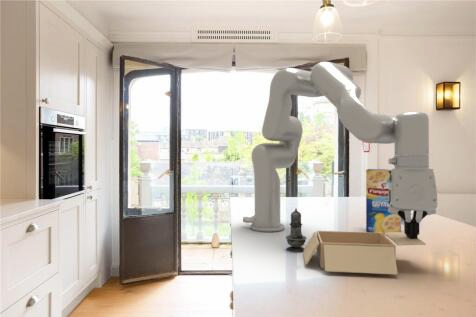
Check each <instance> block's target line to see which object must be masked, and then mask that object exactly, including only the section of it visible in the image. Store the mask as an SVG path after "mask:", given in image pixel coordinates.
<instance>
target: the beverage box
mask: <svg viewBox="0 0 476 317" xmlns="http://www.w3.org/2000/svg"><path fill="white" fill-rule="evenodd" d="M392 169H393V168H392ZM392 169H389V168H387V169H386V168H385V169H383V168H382V169H381V168H376V169H375V168H367V169H366V170H365V174H366V176H365V180H366V181H365V188H366V190H365V195H366V196H365V197H366V198H365V199H366V200H365V201H366V202H365V206H366V207H365V209H366V210H365V218H366V219H365V221H366V222H365V225H366V227H365V232H372V233H382V234H383V235H385V234H384V233H388V232H402V224H401V217H400V216H399V215H396V214H392V213H390V212H388V208H389V201H388V194H389V183H390V176H391V171H392Z"/></svg>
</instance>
